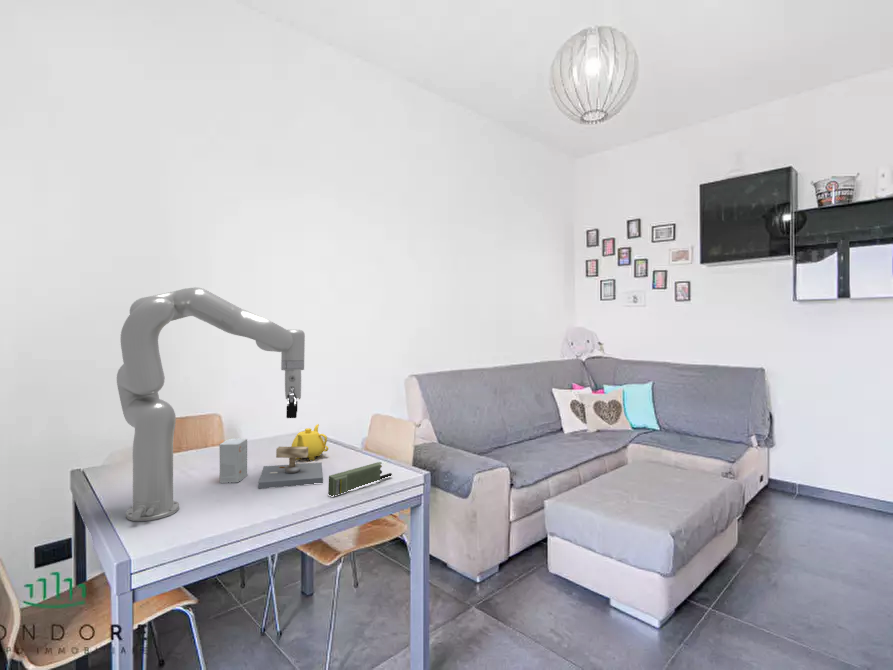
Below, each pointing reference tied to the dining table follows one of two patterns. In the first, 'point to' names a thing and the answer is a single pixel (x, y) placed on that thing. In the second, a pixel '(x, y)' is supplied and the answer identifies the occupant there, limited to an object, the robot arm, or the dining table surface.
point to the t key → (291, 457)
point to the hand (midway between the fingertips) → (292, 415)
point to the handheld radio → (354, 478)
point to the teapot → (311, 442)
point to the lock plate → (290, 475)
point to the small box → (233, 460)
